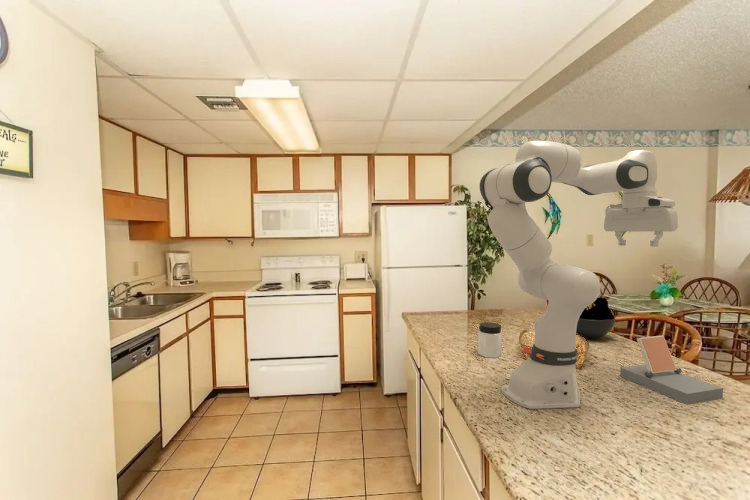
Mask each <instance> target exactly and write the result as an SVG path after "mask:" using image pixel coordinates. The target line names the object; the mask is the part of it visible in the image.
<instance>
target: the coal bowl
mask: <svg viewBox="0 0 750 500" xmlns="http://www.w3.org/2000/svg"><path fill="white" fill-rule="evenodd" d="M592 304H593V305H594V306H591V307H590V308H588V309H587V307H586V308H585V309H584V310H583V312H582V313H581V315H580V317H579V320H578V323H577V329H576V335H579V336H581V335H582V336H581V337H583V336H584V338H588V339H591V338H592V339H593V338H600V337H603V336H605V335H607V334H608V333H610V331H611V330H612V329H613V327H614V325H615V322H616V317H615V316H614V314H613V312H612V309H610V307H609V301H608V300H607V299H606V298H604V297H599V296H598V298H597V299H596V300H595V301H594V302H593V303H592Z"/></svg>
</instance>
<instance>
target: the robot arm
mask: <svg viewBox="0 0 750 500" xmlns="http://www.w3.org/2000/svg"><path fill="white" fill-rule="evenodd" d="M514 162H515V163H508V164H505V165H501V166H499V167H495V168H492V169H490V170H489V171H486V173H485V174H484V175H483V176H482V177H481V179H480V181H479V193H480V195H481V198H482V199H483V200H484V204H485V206H486V208H488V209H490V210H491V211H490V212H489V214H488V216H487V224H488V226H489V228H490V230H491V232H492V234H493V236H494V237H495V239H496V240H497V241H498V243H499V244H500V246H501V247H502V249H503V250H504V251H505V252H506V253H507V255H508V256H509V258H510V259H511V260H512V262H513V263H515V266H516V267H517V269H518V271H519V273H518V279H517V280H518V285H519V287H520V289H521V290H523V292H525V293H526V294H527V295H528V294H529V295H530V296H533V297H535V298H538V299H543V300H546V301H548V303H547V307H546V310H545V312H544V313H541V314H540V315H539V316H538V317H536V319H535V320H534V321H535V322H534V343H533V345H532V347H531V348H530V347H528V346H526V345H525V346H523V348H522V352H523V353H524V354H526V355H529V357H528V358H527V359H526V360H524V361H523V362H522V363H521V364H520V365H518V366H517V367H515V368H514V369H513V370H512V371H511V373H510V376H509V379H508V381H509V382H508V384H504V385H502V386H501V387H500V391H501V393H502V394H503V395H504V396H505V397H506V398H507V399H509V400H510V401H512V402H513V403H514V404H517V405H518V406H520V407H524V408H527V409H530V410H537V409H538V410H540V409H541V410H542V409H562V408H567V409H568V408H579V407H581V403H580V401H581V398H582V397H581V394H580V390H579V386H578V378H577V368H576V363H578V350H577V348H576V346H577V345H576V344H577V343H576V342H577V341H576V340H577V333H576V329H577V323H578V320H579V317H580V315H581V313H582V312H583V310H584V309H585V308H586V309H587V307H588V306H590V305H592V304H594V303H593V302H594V301H595V300H596V299H597V298H598V297H599V296H600V293H601V282H600V280H599V276H597V274H596V273H594V272H593V271H590V270H587V269H585V268H582V267H579V266H576V265H575V266H574V265H565V264H558V263H556V262H554V261H552V259H551V258H550V257H551V256H552V255H551V254H552V251H553V246H552V243H551V241H550V240H549V239H548V237H547V236H546V235H545V234H544V232H543V231H542V230H541V228H540V227H539V225H537V223H536V222H535V220H533V218H532V217H531V216H530V215H529V213H528V211H527V208H526V203H532V202H536V201H538V200H541V199H543V198H545V197H546V196H547V195H548V193H549V191H550V189H551V186H552V183H559V184H560V183H561V184H564V185H568V186H572V187H575V188H576V189H578V190H579V191H580V192H582V193H583V194H585V195H587V196H595V195H600V194H609V193H618V192H622V202H621V203H617V204H616V203H613V204H609V205H608V206H607V207H605V213H604V215H605V216H604V223H603V229H604V231H605V232H614V236H615V238H616V239H617V243H618V244H617V245H618V246H626V245H627V244H626V242H627V240H626V239H624V237H623V236H622V235H623V234H624V232H653V233H654V236H655V237H654V239H652V240H650V242H649V246H650V247H654V248H655V247H659V241H660V240H661V238H662V237H663V236H664V232H667V233H668V232H675V231H676V230H677V229H678V227H679V220H678V212H677V210H676V209H675V208H674V207H675V205H676V201H675V200H674V199H671V198H666V197H662V196H657V189H656V182H657V180H658V179H657V178H658V163H657V156H656V153H654V152H653V151H651V150H649V149H634V150H631V151H628V152H627V153H626V155H625V156H623V157H621V158H619V159H617V160H613V161H609V162H602V163H598V164H590V165H585V166H583V167H582V164H583V160H582V156H581V153H580V151H579V150H578V149H577V148H575V147H573V146H572V145H569V144H566V143H562V142H557V141H552V140H542V139H541V140H528V141H526V142H524V143H523V144H522V145H521V146H520V147H519V148H518V149H517V152H516V154H515V161H514Z"/></svg>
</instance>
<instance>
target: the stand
mask: <svg viewBox="0 0 750 500" xmlns="http://www.w3.org/2000/svg"><path fill="white" fill-rule="evenodd" d="M619 369H620V370H619V373H620V374H619V376H620V377H621V378H623V379H625V380H626V379H627V381H628V380H629V381H631V382H633V383H635V384H638V385H640V386H643V387H646V388H647V389H650V390H652V391H654V392H657V393H660V394H661V395H664V396H666V397H669V398H670V399H673V400H676V401H678V402H680V403H682V404H685V405H690V404H696V403H697V404H698V403H702V402H709V401H714V400H715V401H716V400H720V399H723V397H724V396H723V394H724V388H723V387H720V386H718V385H715V384H712V383H709V382H707V381H703V380H700V379H698V378H695V377H692V376H689V375H686V374H684V373H682V371H683V370H682V368H680V367H676V369H677V370H674V371H666V372H659V373H652V372H649V371H648V369H647V366H646V363H643V364H639V365H630V366H623V367H620V368H619Z"/></svg>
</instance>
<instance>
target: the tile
mask: <svg viewBox="0 0 750 500" xmlns="http://www.w3.org/2000/svg"><path fill="white" fill-rule="evenodd" d="M636 341H637V343H638V347H639V348H640V352H641V355H642V357H643V359H644V362H645V363H644V364H646V366H647V369H648V371H649V372H652V373H659V372H666V371H674V370H677V369H676V368H677V367H676V363H675V361H674V358H673V356H672V354H671V351H670V349H669V346H668V343H667V341H666V339H665V335H656V336H652V335H651V336H643V337H637V338H636Z"/></svg>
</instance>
